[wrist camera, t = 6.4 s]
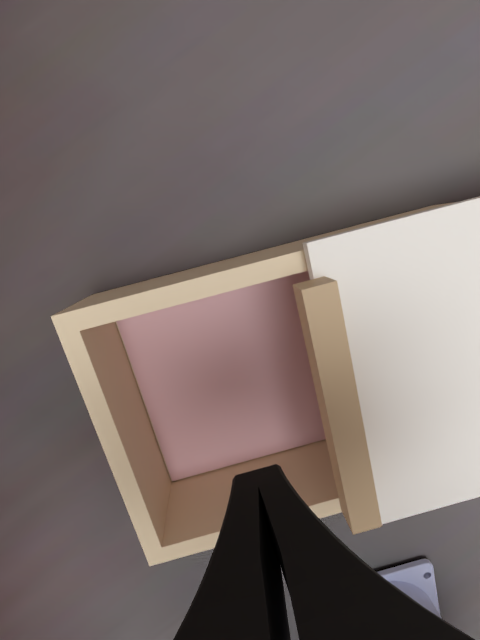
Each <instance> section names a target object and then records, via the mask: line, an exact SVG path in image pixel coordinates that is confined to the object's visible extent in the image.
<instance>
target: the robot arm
mask: <svg viewBox="0 0 480 640" xmlns="http://www.w3.org/2000/svg"><path fill="white" fill-rule="evenodd" d="M280 565H281V566H280ZM281 568H282V571H283V575H284V578H285V581H286V584H287V587H288V590H289V593H290V597H291V601H292V606H293V611H294V616H295V620H296V625H297V630H298V635H299V640H475V639H473V638H471V637H470V636H468V635H467V634H465V633H463V632H462V631H460V630H458V629H457V628H455V627H453V626H452V625H450V624H449V623H447V622H446V621H444V620H443V619H442V618H441V616H440V610H439V603H438V596H437V589H436V582H435V576H434V569H433V565H432V564H431V562H430V561H429V560H428V559H420V560H417V561H413V562H410V563H406V564H403V565H399V566H396V567H392V568H389V569H385V570H382V571H378V572H376V571H375V570H374V569H372V568H371V567H370V566H369V565H367V564H366V563H365V562H364V561H363V560H362V559H360V558H359V557H358V556H357V555H356V554H355V553H354V552H352V551H351V550H350V549H349V548H348V547H347V546H346V545H345V544H344V543H343V542H342V541H341V540H340V539H339V538H337V537H336V536H335V535H334V534H333V533H332V532H331V530H330V529H329V528H328V527H327V526H326V525H325V524H324V523H323V522H322V521H321V520H320V519H319V518H318V517H317V516H316V515H315V513H314V512H313V511H312V510H311V509H310V508H309V506H308V505H307V504H306V503H305V502H304V501H303V499H302V498H301V497H300V496H299V494H298V493H297V492H296V490H295V489H294V488H293V486H292V485H291V483H290V482H289V480H288V479H287V477H286V476H285V474H284V472H283V470H282V468H281V466H279V465H277V464H274V465H271V466H267V467H263V468H260V469H256V470H253V471H249V472H245V473H242V474H238V475H235V477H234V478H233V480H232V487H231V492H230V497H229V501H228V505H227V509H226V513H225V517H224V520H223V523H222V527H221V530H220V533H219V536H218V539H217V542H216V545H215V548H214V551H213V553H212V556H211V559H210V561H209V564H208V567H207V569H206V572H205V574H204V577H203V579H202V582H201V584H200V586H199V589H198V591H197V593H196V595H195V597H194V600H193V602H192V604H191V606H190V608H189V610H188V612H187V614H186V616H185V618H184V620H183V622H182V624H181V626H180V628H179V630H178V632H177V634H176V636H175V638H174V640H290V632H289V625H288V617H287V610H286V602H285V595H284V588H283V580H282V573H281Z"/></svg>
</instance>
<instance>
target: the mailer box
mask: <svg viewBox="0 0 480 640" xmlns="http://www.w3.org/2000/svg"><path fill="white" fill-rule="evenodd" d="M454 203H456V202H454ZM448 204H452V203H446V204H438V205H432V206H428V207H424V208H420V209H417V210H413V211H409V212H405V213H401V214H397V215H394V216H390V217H386V218H382V219H378V220H375V221H371V222H367V223H363V224H359V225H355V226H352V227H348V228H344V229H340V230H336V231H333V232H329V233H325V234H321V235H317V236H313V237H310V238H306V239H302V240H298V241H294V242H291V243H287V244H283V245H279V246H275V247H272V248H268V249H264V250H260V251H256V252H252V253H249V254H245V255H241V256H237V257H233V258H230V259H226V260H222V261H218V262H214V263H210V264H207V265H203V266H199V267H195V268H191V269H188V270H184V271H180V272H176V273H172V274H168V275H165V276H161V277H157V278H153V279H149V280H146V281H142V282H138V283H134V284H130V285H127V286H123V287H119V288H115V289H111V290H107V291H104V292H100V293H96V294H92V295H90V296H89V297H87V298H85V299H83V300H81V301H79V302H77V303H75V304H73V305H71V306H70V307H68V308H66V309H64V310H62V311H60V312H58V313H56V314H54V315H53V316H51V318H52V321H53V323H54V326H55V329H56V331H57V334H58V336H59V339H60V341H61V344H62V346H63V349H64V351H65V354H66V356H67V359H68V361H69V364H70V366H71V369H72V371H73V374H74V377H75V379H76V382H77V384H78V387H79V389H80V392H81V394H82V397H83V399H84V402H85V404H86V407H87V409H88V412H89V414H90V417H91V420H92V422H93V425H94V427H95V430H96V432H97V435H98V437H99V440H100V442H101V445H102V447H103V450H104V452H105V455H106V457H107V460H108V462H109V465H110V468H111V470H112V473H113V475H114V478H115V480H116V483H117V485H118V488H119V490H120V493H121V495H122V498H123V500H124V503H125V505H126V508H127V510H128V513H129V516H130V518H131V521H132V523H133V526H134V528H135V531H136V533H137V536H138V538H139V541H140V543H141V546H142V548H143V551H144V553H145V556H146V558H147V561H148V564H149V566H153V565H156V564H160V563H163V562H167V561H170V560H174V559H177V558H181V557H185V556H188V555H192V554H195V553H199V552H202V551H206V550H209V549H213V548H215V545H216V542H217V539H218V536H219V533H220V530H221V527H222V523H223V520H224V517H225V513H226V509H227V505H228V501H229V497H230V492H231V487H232V480H233V478H234V477H235V475H238V474H242V473H245V472H249V471H253V470H256V469H260V468H263V467H267V466H271V465H274V464H277V465H279V466H281V468H282V470H283V472H284V474H285V476H286V477H287V479H288V480H289V482H290V483H291V485H292V486H293V488H294V489H295V490H296V492H297V493H298V494H299V496H300V497H301V498H302V499H303V501H304V502H305V503H306V504H307V505H308V506H309V508H310V509H311V510H312V511H313V512H314V513H315V515H316V516H317V517H318V518H319V519H320V518H323V517H327V516H330V515H334V514H337V513H341V512H342V511H341V507H340V502H339V497H338V493H337V488H336V484H335V479H334V474H333V470H332V465H331V460H330V456H329V451H328V447H327V442H326V437H325V433H324V428H323V424H322V419H321V414H320V410H319V405H318V400H317V396H316V391H315V387H314V382H313V377H312V373H311V368H310V363H309V359H308V354H307V350H306V345H305V340H304V336H303V331H302V327H301V322H300V317H299V313H298V308H297V303H296V299H295V294H294V290H293V284H297V283H301V282H304V281H308V280H310V278H309V273H308V268H307V263H306V258H305V253H304V248H303V242H307V241H311V240H315V239H319V238H322V237H326V236H330V235H334V234H338V233H341V232H345V231H349V230H353V229H357V228H360V227H364V226H368V225H372V224H376V223H380V222H383V221H387V220H391V219H395V218H399V217H402V216H406V215H410V214H414V213H418V212H421V211H425V210H429V209H433V208H437V207H441V206H444V205H448Z"/></svg>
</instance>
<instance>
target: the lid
mask: <svg viewBox="0 0 480 640" xmlns="http://www.w3.org/2000/svg"><path fill="white" fill-rule="evenodd" d="M303 248H304V253H305V258H306V263H307V268H308V273H309V278H310V280H308V281H304V282H301V283H297V284H293V290H294V294H295V299H296V303H297V308H298V313H299V317H300V322H301V327H302V331H303V336H304V340H305V345H306V350H307V354H308V359H309V363H310V368H311V373H312V377H313V382H314V387H315V391H316V396H317V400H318V405H319V410H320V414H321V419H322V424H323V428H324V433H325V437H326V442H327V447H328V451H329V456H330V460H331V465H332V470H333V474H334V479H335V484H336V488H337V493H338V497H339V502H340V507H341V511H342V513H343V515H344V517H345V519H346V521H347V523H348V525H349V527H350V529H351V531H352V534H353V535H354V534H357V533H361V532H364V531H368V530H372V529H375V528H379V527H382V524H385V523H388V522H392V521H395V520H399V519H403V518H406V517H410V516H413V515H417V514H420V513H424V512H427V511H431V510H434V509H438V508H441V507H445V506H449V505H452V504H456V503H459V502H463V501H466V500H470V499H473V498H477V497H480V196H479V197H475V198H471V199H467V200H463V201H460V202H456V203H452V204H448V205H444V206H441V207H437V208H433V209H429V210H425V211H421V212H418V213H414V214H410V215H406V216H402V217H399V218H395V219H391V220H387V221H383V222H380V223H376V224H372V225H368V226H364V227H360V228H357V229H353V230H349V231H345V232H341V233H338V234H334V235H330V236H326V237H322V238H319V239H315V240H311V241H307V242H303Z"/></svg>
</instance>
